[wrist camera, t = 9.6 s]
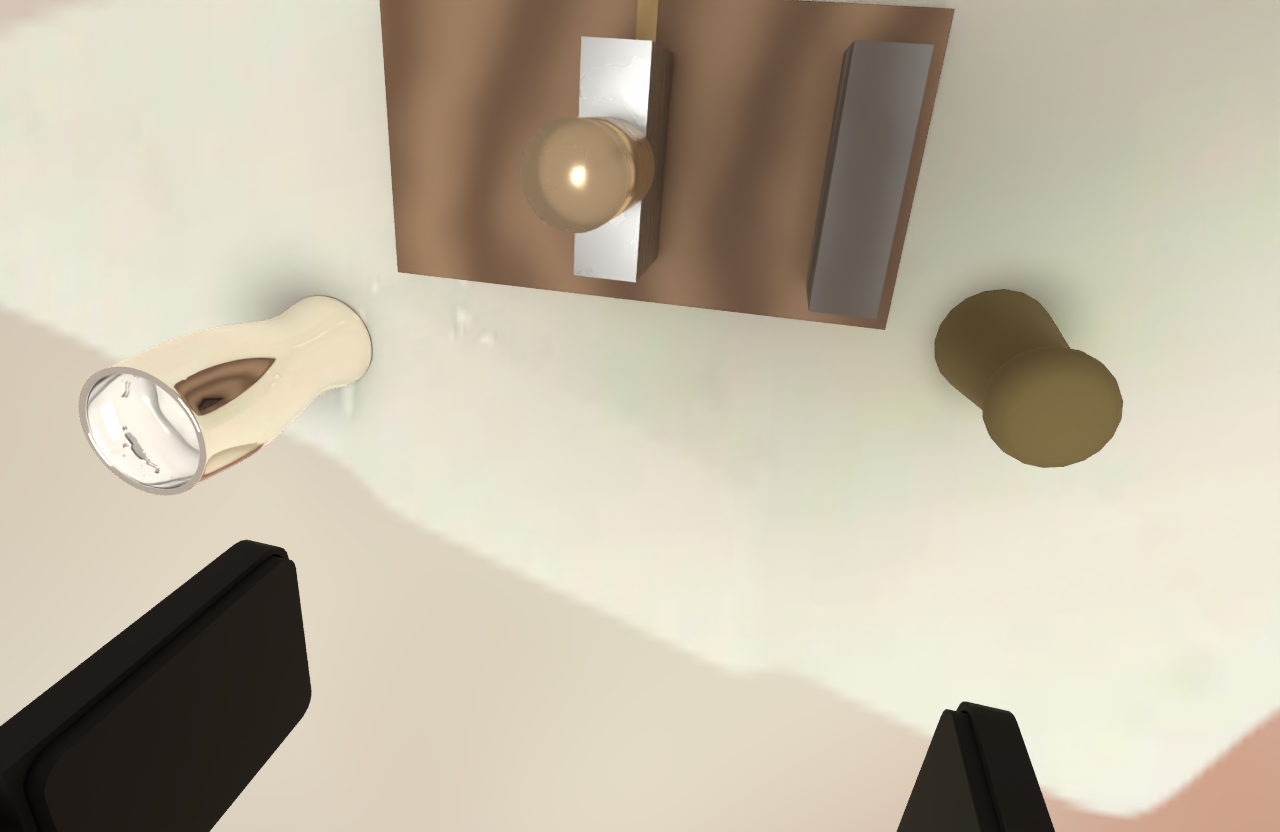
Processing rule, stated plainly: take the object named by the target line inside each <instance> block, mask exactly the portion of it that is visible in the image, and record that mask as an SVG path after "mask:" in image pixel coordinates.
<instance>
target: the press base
mask: <svg viewBox="0 0 1280 832" xmlns="http://www.w3.org/2000/svg"><path fill="white" fill-rule="evenodd" d="M380 12H381V27H382V42H383V57H384V72H385V86H386V101H387V116H388V131H389V146H390V161H391V176H392V191H393V206H394V221H395V236H396V251H397V266H398V272H401V273H410V274H418V275H427V276H435V277H443V278H452V279H460V280H469V281H477V282H486V283H494V284H503V285H511V286H520V287H528V288H536V289H545V290H553V291H562V292H570V293H579V294H587V295H596V296H604V297H613V298H621V299H629V300H638V301H646V302H655V303H663V304H672V305H680V306H689V307H697V308H706V309H714V310H722V311H731V312H739V313H748V314H756V315H765V316H773V317H782V318H790V319H799V320H807V321H815V322H824V323H832V324H841V325H849V326H858V327H866V328H875V329H883V330H885V328H886V323H887V318H888V314H889V309H890V305H891V300H892V295H893V291H894V286H895V282H896V277H897V272H898V268H899V263H900V259H901V254H902V249H903V245H904V240H905V235H906V231H907V226H908V222H909V217H910V212H911V208H912V203H913V199H914V194H915V189H916V185H917V180H918V175H919V171H920V166H921V162H922V157H923V152H924V148H925V143H926V139H927V134H928V129H929V125H930V120H931V116H932V111H933V106H934V102H935V97H936V92H937V88H938V83H939V79H940V74H941V69H942V65H943V60H944V56H945V51H946V46H947V42H948V37H949V32H950V28H951V23H952V19H953V14H954V9H948V8H929V7H911V6H892V5H873V4H855V3H836V2H817V1H799V0H380ZM581 36H584V37H600V38H616V39H632V40H647V41H654V42H655V43H657V44H659V45H661V46H663V47H665V48H666V49H668V50H670V51H672V52H674V55H673V68H672V80H671V93H670V105H669V118H668V130H667V143H666V155H665V168H664V180H663V193H662V206H661V218H660V231H659V243H658V256H657V260H656V261H655V262H654V263H653V264H652V265H651V266H650V267H649V268H648V269H647V270H646V272H645V273H644V274H643V275H642V276H641V277H640V278H639V279H638V280H637V281H636V282H629V281H620V280H611V279H603V278H594V277H585V276H576V275H574V244H575V233H569V232H564V231H560V230H557V229H555V228H553V227H551V226H550V225H548V224H546V223H545V222H544V221H543V220H541V219H540V218H539V217H538V216H537V215H536V214H535V212H534V211H533V210H532V208H531V207H530V205H529V204H528V202H527V200H526V197H525V195H524V192H523V189H522V185H521V177H520V167H521V160H522V156H523V153H524V150H525V148H526V146H527V144H528V142H529V140H530V139H531V137H532V136H533V135H534V134H535V133H536V132H537V131H538V130H539V129H540V128H541V127H543V126H544V125H546V124H547V123H550V122H552V121H554V120H557V119H561V118H579V92H580V62H581Z"/></svg>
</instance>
